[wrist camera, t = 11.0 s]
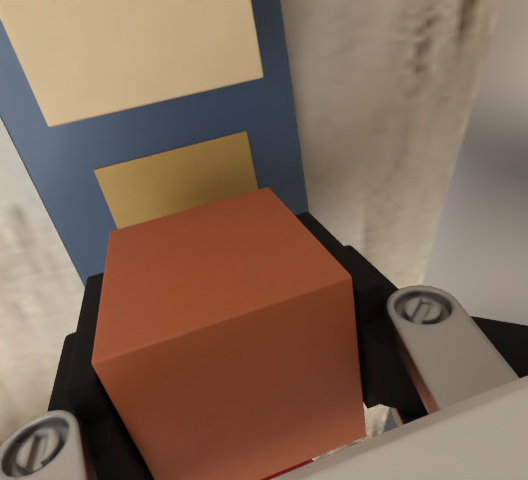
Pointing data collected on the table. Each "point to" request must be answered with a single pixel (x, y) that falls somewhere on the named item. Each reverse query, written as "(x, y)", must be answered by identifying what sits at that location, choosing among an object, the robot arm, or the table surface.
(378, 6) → the table surface
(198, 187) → the rack
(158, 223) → the orange block
